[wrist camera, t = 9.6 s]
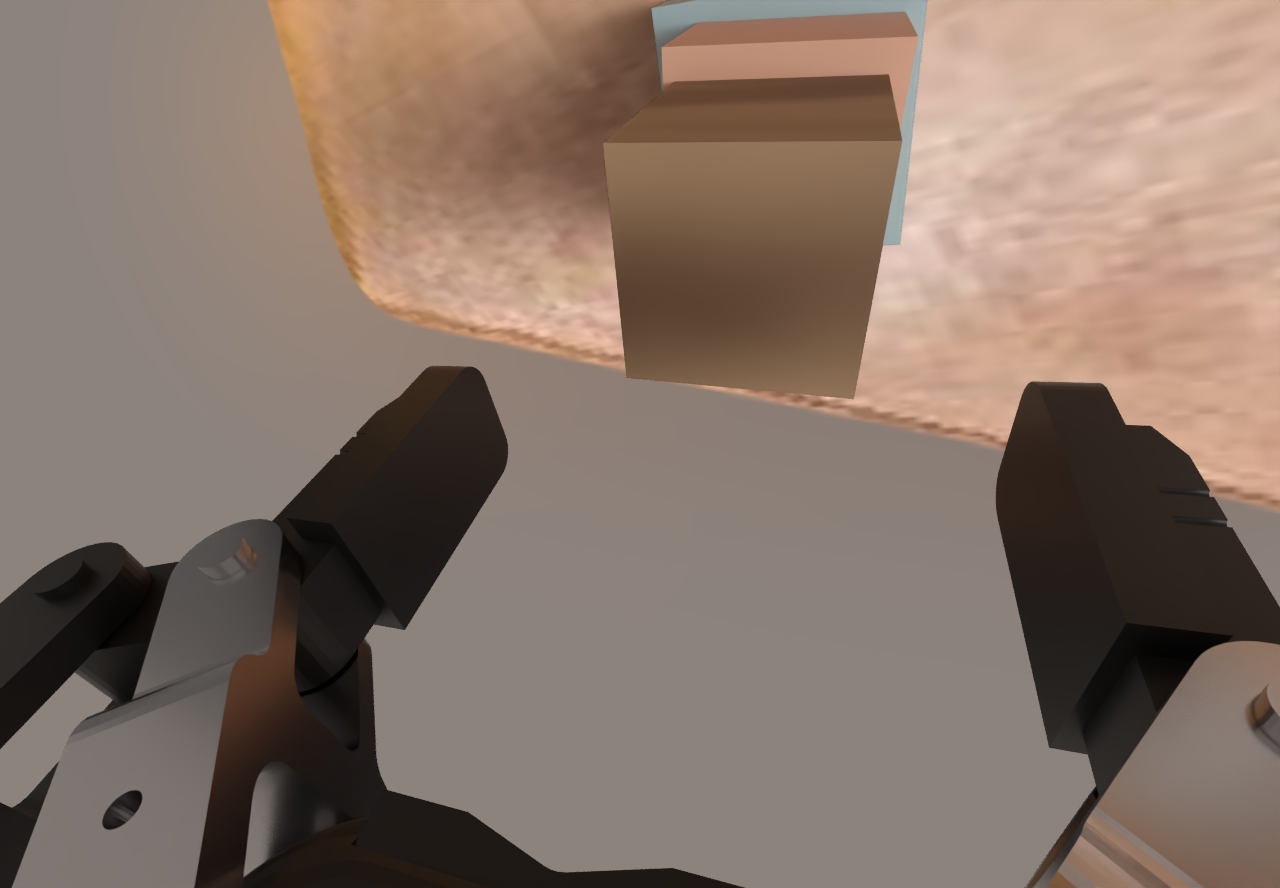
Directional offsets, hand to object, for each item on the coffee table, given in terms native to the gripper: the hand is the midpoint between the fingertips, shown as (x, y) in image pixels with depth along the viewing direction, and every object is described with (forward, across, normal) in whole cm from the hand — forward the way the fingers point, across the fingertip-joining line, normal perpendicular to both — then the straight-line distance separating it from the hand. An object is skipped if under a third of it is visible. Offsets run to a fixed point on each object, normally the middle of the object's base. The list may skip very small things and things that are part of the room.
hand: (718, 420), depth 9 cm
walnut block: (+10, 0, 0) cm, 10 cm away
